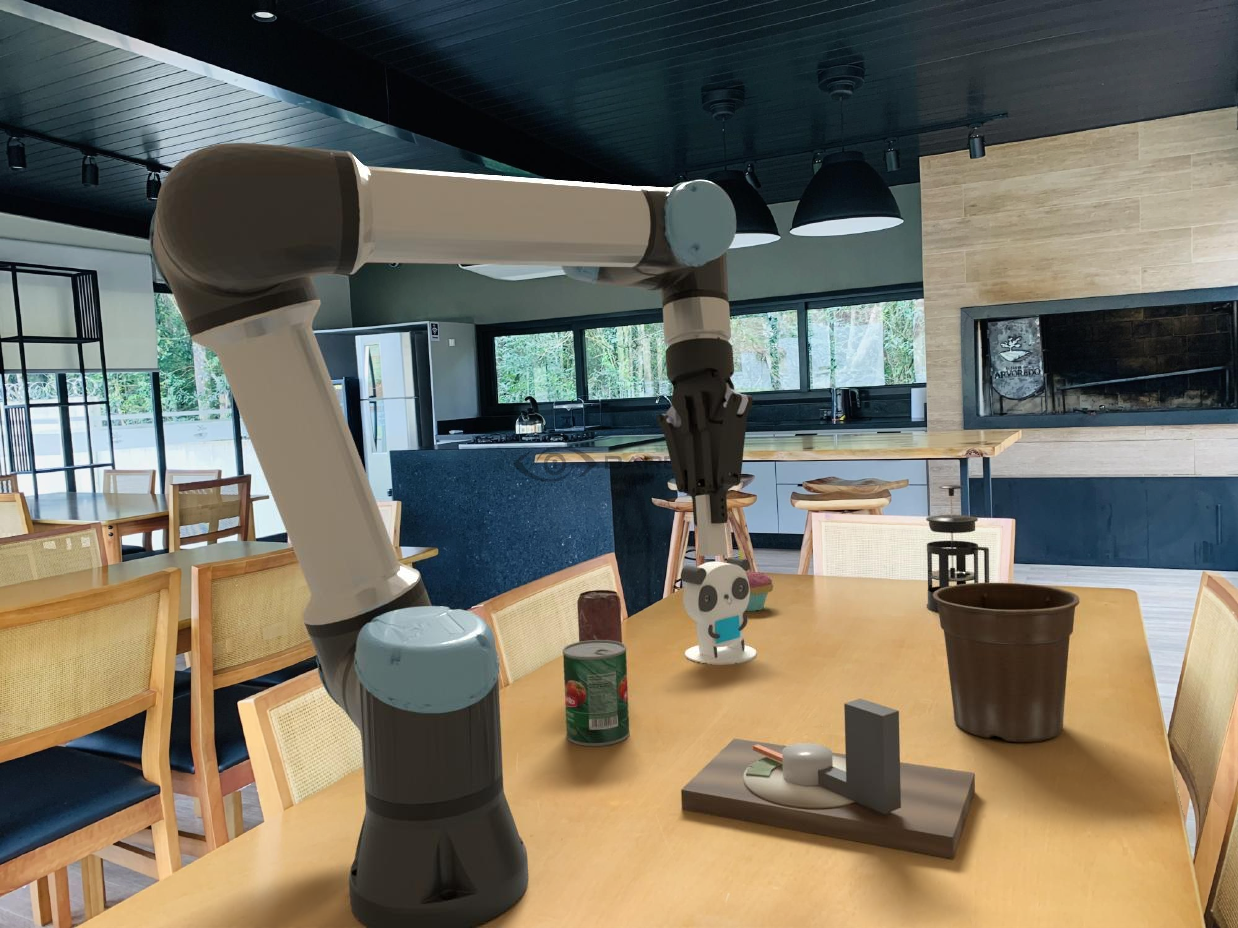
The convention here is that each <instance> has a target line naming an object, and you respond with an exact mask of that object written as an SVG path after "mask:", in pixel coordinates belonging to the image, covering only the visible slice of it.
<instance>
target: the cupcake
mask: <svg viewBox="0 0 1238 928" xmlns="http://www.w3.org/2000/svg"><path fill="white" fill-rule="evenodd" d="M738 556H739V558H741V559H744V554H743V550H742V549H741V547H740V546H738ZM745 572H746V575H747V578H748V581H749V586H750V597H749V602H748V605H747V608H746V610H745V611H744V612H756V610H758V611H761V610H763V609H764V608H765V607H764V606H765V603H766V599H767V596H768V594H769V593H771V592H772V591H773V590H774V589H773V588H774V584H773V582H772V581H773V580H772V579H771V577H769V576H768V575H766V574H764V573H762V572H759V571H757V572H756V571H745Z"/></svg>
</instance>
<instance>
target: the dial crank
mask: <svg viewBox="0 0 1238 928" xmlns="http://www.w3.org/2000/svg"><path fill="white" fill-rule="evenodd" d="M843 710H844V737H845V738H844V739H845V740H844V744H845V745H844V746H845V754H846V772H845V771H843V770H840V769H838V768H835V767H833V757H832V752H833V751H832V749H830V748H829V747H827V746H824V745H823V744H818V743H809V742H800V743H799V742H798V743H794V744H793V743H792V744H790V745H786V746H787V747H785V748H784V749H783V750H782V754H780V753H777V752H775V751H773V750H770V749H768V748H766V747H763V746H761V745H758V744H757V745H754V746H753V750H754V751H756V752H758V753H761V754H763V755H765V756H768V757H770V758H772V759H774V760H777V761H779V762H781V763H783V777H784V778H785V779H786V780H788V781H790V782H792V783H795V784H799V785H810V786H812V785H822V786H824V787H826V788H829V789H831V790H833V791H836V792H838V793H840V794H842V795H845V796H847V798H849V799H851V800H853V801H856V802H858V803H860V804H862V805H865V806H867V807H869V808H872V809H874V810H876V811H878V812H881V813H883V814H887V813H890V812H892V811H894V810H897V809H899V808H901V788H900V762H901V753H900V751H901V749H900V711H899V710H897V709H895V708H892V707H888V706H885V705H882V704H880V703H879V704H878V703H875V702H872V701H869V700H867V699H864V698H857V699H854V700H851V701H847V702H845V703H844V709H843Z"/></svg>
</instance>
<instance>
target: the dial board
mask: <svg viewBox="0 0 1238 928" xmlns="http://www.w3.org/2000/svg"><path fill="white" fill-rule="evenodd" d="M757 744H758V745H761V746H763V747H766V748H768V749H770V750H773V751H775V752H777V753H780V754H782V750H783V749H784V748H785V747H787V746H788V745H783V744H775V743H769V742H763V741H762V742H761V741H755V740H747V739H739V738H733V739H731V741H729V743H727V745H726V746H724V747H723V748H722V749H721V750H720V752H718V754H716V755H715V756H714V757H713V758H712V759H711V760H710V761H709V762H708V763H707V764H706V765H705V766H704V767H703V768H702V769H701V770H700V771H699V772H698V773H697V774H696V775H695V776H693V778H691V779H690V780H689V782H688V783H685V785H684V787H682V788H681V789H680V794H681V795H680V797H681V798H680V799H681V810H686V811H690V812H691V811H692V812H696V813H697V812H698V813H703V814H708V815H713V816H719V817H723V818H724V817H725V818H729V819H734V820H741V821H746V822H752V823H755V824H762V825H765V826H766V825H767V826H773V827H777V828H783V829H789V830H792V831H798V832H799V831H800V832H802V833H803V832H804V833H809V834H815V835H820V836H825V837H830V838H831V837H832V838H835V839H836V838H837V839H841V840H847V841H853V842H858V843H864V844H868V845H869V844H870V845H872V846H873V845H874V846H880V847H886V848H890V849H896V850H902V851H906V852H910V853H911V852H912V853H917V854H922V855H928V856H933V857H937V858H938V857H939V858H942V859H943V858H944V859H949V860H954V859H955V854H956V851H957V848H958V847H959V846H958V845H959V842H960V839H961V836H962V833H963V831H964V827H965V825H966V820H967V817H968V815H969V811H970V809H971V805H972V803H973V799H974V797H975V794H976V785H975V781H976V780H975V779H976V777H975V776H976V773H975V772H971V771H964V770H959V769H951V768H943V767H936V766H930V765H929V766H927V765H923V764H922V765H921V764H915V763H909V762H901V761H900V788H901V808H899V809H897V810H894V811H892V812H890V813H887V814H883V813H881V812H878V811H876V810H874V809H872V808H869V807H867V806H865V805H862V804H860V803H858V802H856V801H853V800H851V799H849V798H847V796H845V795H842V794H840V793H838V792H836V791H833V790H831V789H829V788H826V787H824V786H822V785H812V786H810V785H799V784H795V783H792V782H790V781H788V780H786V779H785V778H784V777H783V763H781V762H779V761H777V760H774V759H772V758H770V757H768V756H765V755H763V754H761V753H758V752H756V751H754V750H753V746H754V745H757ZM832 757H833V767H835V768H838V769H840V770H843V771H845V772H846V753H837V752H833V751H832Z"/></svg>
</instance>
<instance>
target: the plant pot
mask: <svg viewBox="0 0 1238 928" xmlns="http://www.w3.org/2000/svg"><path fill="white" fill-rule="evenodd" d="M933 598H934V600H935V601H936V602H937V604H938V611H939V612H938V616H939V624H940V627H941V629H942V630H943V637H944V643H945V650H946V652H945V653H946V658H947V659H946V660H947V667H948V675H949V683H950V692H951V694H950V695H951V700H952V708H953V719H954V723H955V724H956V725H957V726H958V728H960V729H961V730H963V731H965V732H967V733H969V734H971V735H975V736H977V737H979V738H985V739H990V738H991V737H994V736H995V737H998V738H1001V739H1003V741H1005V742H1013V743H1014V742H1017V743H1018V742H1021V743H1022V742H1023V743H1024V742H1025V743H1034V742H1041V741H1042V742H1043V741H1045V740H1048V739H1052V738H1055V737H1057V736H1058V735H1060V733H1061V731H1062V729H1063V727H1064V715H1065V713H1064V712H1065V701H1066V700H1065V699H1066V687H1067V686H1066V685H1067V675H1068V673H1067V672H1068V659H1069V649H1070V648H1069V647H1070V638H1071V637H1070V636H1071V635H1072V634H1073V632H1074V625H1075V624H1074V623H1075V611H1076V607H1077V606H1078V605H1079V604H1080V597H1079V595H1077V594H1075V593H1074V592H1072V591H1069V590H1065V589H1062V588H1057V587H1053V586H1049V585H1039V584H1032V583H1031V584H1030V583H1020V582H1016V583H1015V582H989V583H985V582H978V583H974V582H972V583H966V584H961V585H957V584H955V585H949V587H945V588H941V589H938V590H937V591H935V592H934V593H933Z"/></svg>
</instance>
